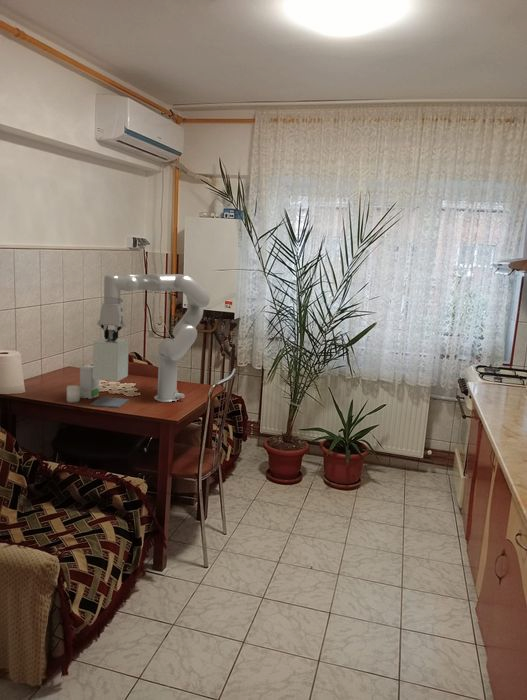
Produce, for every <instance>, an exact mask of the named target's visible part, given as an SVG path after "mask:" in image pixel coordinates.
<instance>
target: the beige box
mask: <svg viewBox="0 0 527 700" xmlns="http://www.w3.org/2000/svg"><path fill="white" fill-rule="evenodd" d="M114 332H115V329H108V339H105V337H102V338H99V339H95V340H93V342H92V343H93V345H92V346H93V348H92V366H93V379H96V380H99V381H108V382H119V381H121V380H123V379H125V378H127V377H128V376H129V350H130V349H129V343H130V340H129V339H128V338H127V339H126V338H117V340H114Z"/></svg>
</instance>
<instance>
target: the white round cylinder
mask: <svg viewBox="0 0 527 700" xmlns="http://www.w3.org/2000/svg"><path fill="white" fill-rule="evenodd" d="M80 401H81V398H80V385H76V384H75V385H74V384H72V385H66V402H67V403H79V402H80Z"/></svg>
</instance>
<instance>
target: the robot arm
mask: <svg viewBox="0 0 527 700" xmlns="http://www.w3.org/2000/svg"><path fill="white" fill-rule="evenodd" d="M136 290H137V291H140V290H143V291H150V292H158V293H159V292H162V293H163V292H182V293H183V294H184V295H185V296H186V300H187V308H186V311H185V313H184V314H183V316H181V318H180V319H179V321H178V322H177V323H176V325H174V327H173V329H172V335H173V338H171V337H170V338H169V337H165V338H163V339H161V341H160V342H159V343H158V346H157V355H158V369H157V370H158V372H157V373H158V374H157V375H158V377H157V394H156V395H155V396H154V400H155V401H156V400H157V402H161V403H173V402H172V401H175V402H178V401H179V400H180V398H181V399H182V398H183V399H184V398H185V394H184V393H181V392H180V393H179V390H178V389H177V387H178V385H177V384H178V361H179V360H180V359H181V358H183V357H184V355H186V354H187V352H188V350H189V349H190V348H191V347H192V346H193V344H194V343H195V341H196V339H197V337H198V330H197V326H198V325H199V324H200V322H201V320H202V318H203V315H204V308H205V307H207V306H209V304H210V300H211V299H210V295H209V294H208V292H207V291H206V290H205V289H204V287H202V286H201V285H200V284H199V283H198V282H196V280H194V278H192V277H191V276H190V275H186V274H181V273H176V274H175V273H174V274H173V273H172V274H170V273H163V274H162V273H151V274H149V273H148V274H122V275H116V274H106V275H104V279H103V303H102V304H101V309H100V317H99V320H98V321H97V325H98V326H99V327H100V328H101V329H102V330H103V332H104V333H103V334H104V335H103V338H105V339H108V330H109V326H114V327H113V328H114V330H115V332H114V340H117V339H119V332H120V331H121V330H122V329H123V328H125V327H126V326H127V325H126V323H125V321H124V310H123V309H124V307H123V304H121V303H123V302H124V299H121V291H123V292H134V291H136ZM177 400H178V401H177Z"/></svg>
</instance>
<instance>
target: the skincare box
mask: <svg viewBox="0 0 527 700" xmlns="http://www.w3.org/2000/svg"><path fill="white" fill-rule="evenodd" d="M99 381H100V380H96V379H93V365H89V364H88V365H84V366H80V367H79V386H80V399H86V398H88V400H92V399H94V398H96V397H99V386H100V385H99Z"/></svg>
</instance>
